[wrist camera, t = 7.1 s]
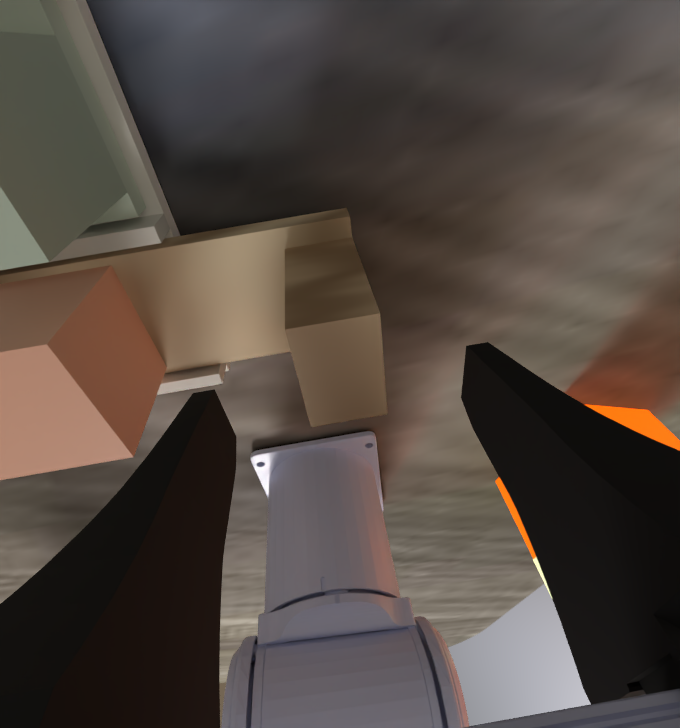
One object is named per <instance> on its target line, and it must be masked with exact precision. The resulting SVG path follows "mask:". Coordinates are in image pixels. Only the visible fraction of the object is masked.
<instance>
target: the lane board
mask: <svg viewBox="0 0 680 728" xmlns="http://www.w3.org/2000/svg"><path fill="white" fill-rule="evenodd" d="M56 2H57V5H58V7H59V9H60V11H61V14H62V16H63V18H64V21H65V23H66V25H67V27H68V30H69V32H70V34H71V37H72V39H73V41H74V43H75V46H76V48H77V50H78V52H79V55H80V57H81V59H82V62H83V64H84V66H85V68H86V71H87V73H88V75H89V78H90V80H91V82H92V84H93V87H94V89H95V91H96V94H97V96H98V98H99V100H100V103H101V105H102V107H103V110H104V112H105V114H106V116H107V119H108V121H109V123H110V126H111V128H112V130H113V132H114V135H115V137H116V139H117V142H118V144H119V146H120V148H121V151H122V153H123V155H124V157H125V160H126V162H127V164H128V167H129V169H130V171H131V173H132V176H133V178H134V180H135V183H136V185H137V187H138V189H139V192H140V194H141V196H142V199H143V201H144V203H145V205H146V209H145V210H144V211H143V212H142V213H141V214H140V215H139V217H133V218H127V219H121V220H115V221H110V222H104V223H98V224H92V225H90V226H89V227H88V228H87V229H86V230H85V231H84V232H83V233H81V234H80V235H79V236H78V237H77V238H76V239H75V240H74V241H72V242H71V243H70V244H69V245H68V246H67V247H66V248H65V249H64V250H62V251H61V252H60V253H59V254H58V255H57V256H56V257H55V258H53V259H52V260H51V261H50V262H53V261H59V260H65V259H71V258H76V257H82V256H88V255H94V254H100V253H106V252H112V251H118V250H124V249H129V248H135V247H141V246H147V245H153V244H159V243H162V241H163V240H164V239H165V238H171V237H177V236H180V233H179V231H178V228H177V226H176V223H175V221H174V218H173V216H172V213H171V211H170V208H169V206H168V203H167V201H166V198H165V196H164V194H163V191H162V189H161V186H160V184H159V181H158V179H157V176H156V174H155V171H154V169H153V166H152V164H151V161H150V159H149V156H148V154H147V151H146V149H145V146H144V144H143V141H142V139H141V136H140V134H139V131H138V129H137V126H136V124H135V121H134V119H133V116H132V114H131V111H130V109H129V106H128V104H127V101H126V99H125V96H124V94H123V91H122V89H121V86H120V84H119V81H118V79H117V76H116V74H115V71H114V69H113V66H112V64H111V61H110V59H109V56H108V54H107V52H106V49H105V47H104V44H103V42H102V39H101V37H100V34H99V32H98V29H97V27H96V24H95V22H94V19H93V17H92V14H91V12H90V9H89V7H88V4H87V2H86V0H56ZM23 267H24V266H23ZM17 268H18V267H17ZM229 368H230V362H227V363H221V364H215V365H209V366H203V367H198V368H192V369H186V370H180V371H174V372H168V373H165V374H164V377H163V379H162V382H161V385H160V387H159V390H158V393H157V395H159V394H165V393H171V392H176V391H182V390H188V389H194V388H200V387H205V386H211V385H217V384H223V381H224V375H225V371H229Z"/></svg>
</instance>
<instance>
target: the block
mask: <svg viewBox="0 0 680 728" xmlns="http://www.w3.org/2000/svg"><path fill="white" fill-rule="evenodd" d="M166 369H167V367H166V365H165V363H164V361H163V359H162V357H161V356H160V354H159V352H158V350H157V348H156V346H155V345H154V343H153V341H152V339H151V337H150V335H149V334H148V332H147V330H146V328H145V326H144V324H143V323H142V321H141V319H140V317H139V315H138V313H137V312H136V310H135V308H134V306H133V304H132V302H131V301H130V299H129V297H128V295H127V293H126V291H125V290H124V288H123V286H122V284H121V282H120V280H119V279H118V277H117V275H116V273H115V271H114V269H113V268H112V266H111V265H109V266H103V267H97V268H91V269H85V270H80V271H74V272H68V273H62V274H56V275H50V276H44V277H38V278H33V279H27V280H21V281H15V282H9V283H3V284H0V480H4V479H10V478H15V477H21V476H27V475H33V474H39V473H44V472H50V471H56V470H62V469H67V468H73V467H79V466H85V465H91V464H96V463H102V462H108V461H114V460H119V459H125V458H131V457H134V455H135V452H136V449H137V447H138V444H139V441H140V438H141V436H142V433H143V430H144V428H145V425H146V422H147V420H148V417H149V414H150V412H151V409H152V406H153V404H154V401H155V398H156V395H157V393H158V390H159V387H160V385H161V382H162V379H163V377H164V374H165V371H166Z"/></svg>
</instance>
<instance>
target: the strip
mask: <svg viewBox="0 0 680 728" xmlns="http://www.w3.org/2000/svg"><path fill="white" fill-rule="evenodd" d="M145 209H146V205H145V203H144V201H143V199H142V196H141V194H140V192H139V189H138V187H137V185H136V183H135V180H134V178H133V176H132V173H131V171H130V169H129V167H128V164H127V162H126V160H125V157H124V155H123V153H122V151H121V148H120V146H119V144H118V142H117V139H116V137H115V135H114V132H113V130H112V128H111V126H110V123H109V121H108V119H107V116H106V114H105V112H104V110H103V107H102V105H101V103H100V100H99V98H98V96H97V94H96V91H95V89H94V87H93V84H92V82H91V80H90V78H89V75H88V73H87V71H86V68H85V66H84V64H83V62H82V59H81V57H80V55H79V52H78V50H77V48H76V46H75V43H74V41H73V39H72V37H71V34H70V32H69V30H68V27H67V25H66V23H65V21H64V18H63V16H62V14H61V11H60V9H59V7H58V5H57V2H56V0H0V270H6V269H12V268H17V267H23V266H29V265H35V264H41V263H47V262H50V261H51V260H52V259H53V258H55V257H56V256H57V255H58V254H59V253H60V252H61V251H62V250H64V249H65V248H66V247H67V246H68V245H69V244H70V243H71V242H72V241H74V240H75V239H76V238H77V237H78V236H79V235H80V234H81V233H83V232H84V231H85V230H86V229H87V228H88V227H89V226H90V225H92V224H98V223H104V222H110V221H115V220H121V219H127V218H133V217H139V215H140V214H141V213H142V212H143V211H144V210H145Z"/></svg>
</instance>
